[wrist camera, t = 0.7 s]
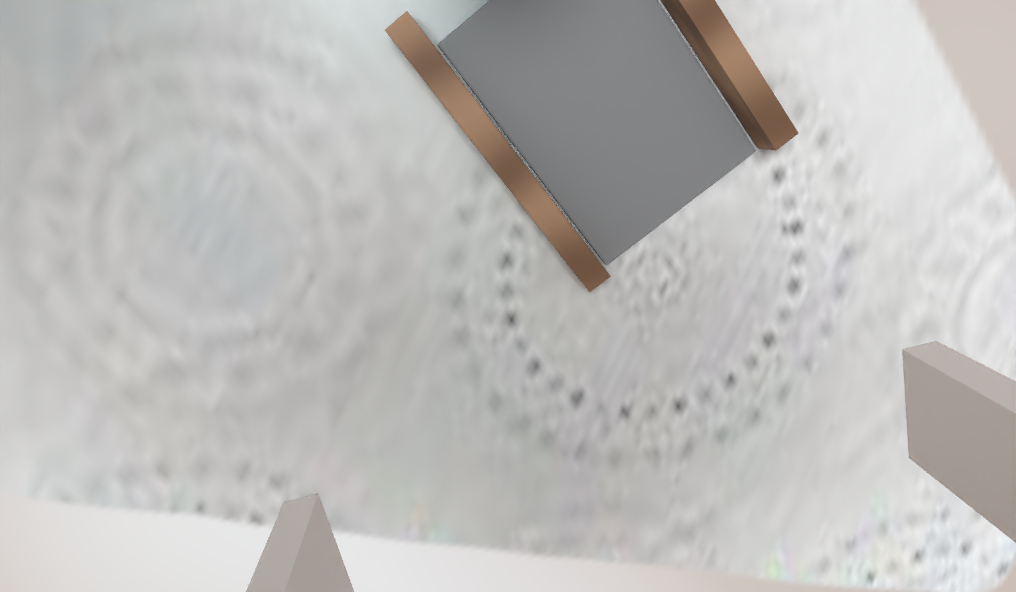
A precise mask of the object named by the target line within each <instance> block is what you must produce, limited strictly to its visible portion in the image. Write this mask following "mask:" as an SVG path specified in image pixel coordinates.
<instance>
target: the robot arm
mask: <svg viewBox="0 0 1016 592" xmlns="http://www.w3.org/2000/svg"><path fill="white" fill-rule="evenodd" d="M902 354H903V370H904V386H905V403H906V419H907V435H908V452H909V458H910V459H911V460H912V461H914V462H915V463H916V464H917V465H919V466H920V467H921V468H922V469H924V470H925V471H926V472H927V473H929V474H930V475H931V476H932V477H934V478H935V479H936V480H938V481H939V482H940V483H941V484H943V485H944V486H945V487H946V488H948V489H949V490H950V491H951V492H953V493H954V494H955V495H956V496H958V497H959V498H960V499H961V500H963V501H964V502H965V503H966V504H968V505H969V506H970V507H972V508H973V509H974V510H975V511H977V512H978V513H979V514H980V515H982V516H983V517H984V518H985V519H987V520H988V521H989V522H990V523H992V524H993V525H994V526H995V527H997V528H998V529H999V530H1000V531H1002V532H1003V533H1004V534H1006V535H1007V536H1008V537H1009V538H1011V539H1012V540H1013V541H1014V542H1016V381H1014V380H1012V379H1010V378H1008V377H1006V376H1004V375H1002V374H1000V373H998V372H996V371H994V370H992V369H990V368H988V367H986V366H984V365H982V364H980V363H978V362H976V361H974V360H972V359H971V358H969V357H967V356H965V355H963V354H961V353H959V352H957V351H955V350H953V349H951V348H949V347H947V346H945V345H943V344H941V343H939V342H937V341H934V342H930V343H926V344H922V345H918V346H914V347H910V348H906V349H902ZM246 592H354V591H353V588H352V585H351V582H350V579H349V577H348V574H347V571H346V569H345V566H344V563H343V560H342V557H341V555H340V552H339V549H338V547H337V544H336V541H335V538H334V535H333V533H332V530H331V527H330V524H329V522H328V519H327V516H326V513H325V511H324V508H323V505H322V503H321V500H320V497H319V494H314V495H310V496H306V497H302V498H298V499H294V500H290V501H286V502H284V503H283V505H282V508H281V510H280V513H279V515H278V517H277V520H276V522H275V524H274V527H273V529H272V532H271V534H270V537H269V539H268V541H267V544H266V546H265V548H264V551H263V553H262V556H261V558H260V560H259V562H258V565H257V567H256V570H255V572H254V574H253V577H252V579H251V582H250V584H249V586H248V589H247V591H246Z"/></svg>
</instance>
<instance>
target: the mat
mask: <svg viewBox="0 0 1016 592" xmlns="http://www.w3.org/2000/svg"><path fill="white" fill-rule="evenodd" d="M438 46H439V47H440V48H441V50H442V51H443V52H444V54H445V55H446V56H447V58H448V59H449V60H450V61H451V63H452V64H453V65H454V67H455V68H456V69H457V71H458V72H459V73H460V75H461V76H462V77H463V79H464V80H465V81H466V82H467V84H468V85H469V86H470V88H471V89H472V90H473V92H474V93H475V94H476V96H477V97H478V98H479V99H480V101H481V102H482V103H483V105H484V106H485V107H486V109H487V110H488V111H489V113H490V114H491V115H492V116H493V118H494V119H495V120H496V122H497V123H498V124H499V126H500V127H501V128H502V130H503V131H504V132H505V133H506V135H507V136H508V137H509V139H510V140H511V141H512V143H513V144H514V145H515V147H516V148H517V149H518V150H519V152H520V153H521V154H522V156H523V157H524V158H525V160H526V161H527V162H528V164H529V165H530V166H531V168H532V169H533V170H534V171H535V173H536V174H537V175H538V177H539V178H540V179H541V181H542V182H543V183H544V185H545V186H546V187H547V188H548V190H549V191H550V192H551V194H552V195H553V196H554V198H555V199H556V200H557V202H558V203H559V204H560V205H561V207H562V208H563V209H564V211H565V212H566V213H567V215H568V216H569V217H570V219H571V220H572V221H573V222H574V224H575V225H576V226H577V228H578V229H579V230H580V232H581V233H582V234H583V236H584V237H585V238H586V240H587V241H588V242H589V243H590V245H591V246H592V247H593V249H594V250H595V251H596V253H597V254H598V255H599V257H600V258H601V259H602V260H603V262H604V263H605V264H606V265H607V264H609V263H610V262H611V261H612V260H614V259H615V258H616V257H618V256H619V255H620V254H622V253H623V252H624V251H626V250H627V249H628V248H630V247H631V246H632V245H633V244H635V243H636V242H637V241H639V240H640V239H641V238H643V237H644V236H645V235H647V234H648V233H649V232H650V231H652V230H653V229H654V228H656V227H657V226H658V225H660V224H661V223H662V222H664V221H665V220H666V219H667V218H669V217H670V216H671V215H673V214H674V213H675V212H677V211H678V210H679V209H681V208H682V207H683V206H685V205H686V204H687V203H688V202H690V201H691V200H692V199H694V198H695V197H696V196H698V195H699V194H700V193H702V192H703V191H704V190H705V189H707V188H708V187H709V186H711V185H712V184H713V183H715V182H716V181H717V180H719V179H720V178H721V177H722V176H724V175H725V174H726V173H728V172H729V171H730V170H732V169H733V168H734V167H736V166H737V165H738V164H739V163H741V162H742V161H743V160H745V159H746V158H747V157H749V156H750V155H751V154H753V153H754V152H755V151H756V150H755V148H754V147H753V145H752V144H751V142H750V141H749V139H748V138H747V136H746V135H745V133H744V132H743V130H742V129H741V127H740V126H739V124H738V123H737V121H736V119H735V118H734V116H733V115H732V113H731V112H730V110H729V109H728V107H727V106H726V104H725V103H724V101H723V100H722V98H721V97H720V95H719V94H718V92H717V91H716V89H715V87H714V86H713V84H712V83H711V81H710V80H709V78H708V77H707V75H706V74H705V72H704V71H703V69H702V68H701V66H700V65H699V63H698V62H697V60H696V58H695V57H694V55H693V54H692V52H691V51H690V49H689V48H688V46H687V45H686V43H685V42H684V40H683V39H682V37H681V36H680V34H679V33H678V31H677V29H676V28H675V26H674V25H673V23H672V22H671V20H670V19H669V17H668V16H667V14H666V13H665V11H664V10H663V8H662V7H661V5H660V4H659V2H658V0H490V1H489V2H487V3H486V4H485V5H484V6H483V7H482V8H480V9H479V10H478V11H477V12H476V13H474V14H473V15H472V16H471V17H470V18H468V19H467V20H466V21H465V22H464V23H463V24H461V25H460V26H459V27H458V28H457V29H455V30H454V31H453V32H452V33H451V34H449V35H448V36H447V37H446V38H445V39H444V40H442V41H441V42H440V43H439V44H438Z"/></svg>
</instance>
